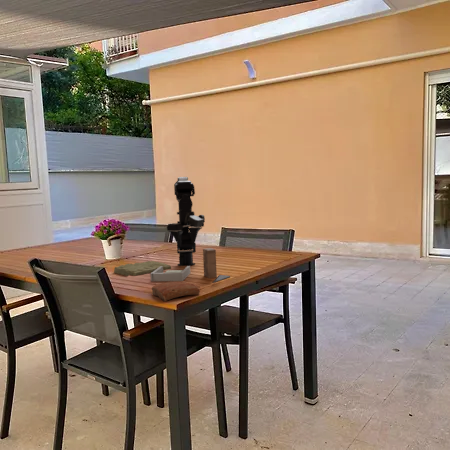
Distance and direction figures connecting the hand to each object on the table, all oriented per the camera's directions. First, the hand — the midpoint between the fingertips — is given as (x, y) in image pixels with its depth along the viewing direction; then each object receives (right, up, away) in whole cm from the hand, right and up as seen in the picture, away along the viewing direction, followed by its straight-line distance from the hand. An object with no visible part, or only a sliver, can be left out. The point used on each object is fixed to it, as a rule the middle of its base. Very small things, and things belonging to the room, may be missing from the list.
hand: (186, 244), depth 196 cm
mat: (+11, -14, -10) cm, 20 cm away
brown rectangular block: (+11, -13, -10) cm, 20 cm away
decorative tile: (-22, -14, +10) cm, 28 cm away
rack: (-6, -14, -8) cm, 17 cm away
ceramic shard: (-2, -17, -34) cm, 38 cm away
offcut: (-5, -13, -4) cm, 15 cm away
